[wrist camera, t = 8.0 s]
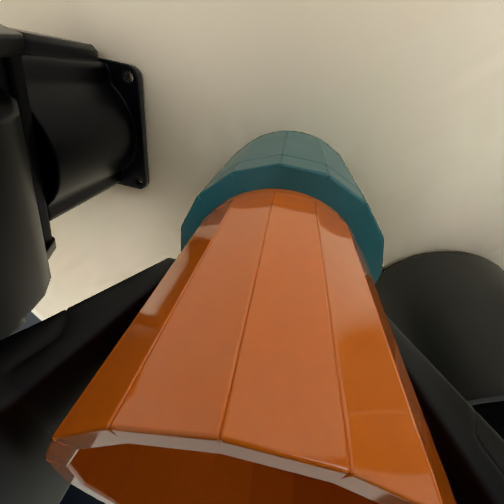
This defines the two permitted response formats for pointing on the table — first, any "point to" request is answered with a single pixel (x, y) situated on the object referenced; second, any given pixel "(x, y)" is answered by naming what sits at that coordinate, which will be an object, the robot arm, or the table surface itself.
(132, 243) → the table surface
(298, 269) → the orange cup
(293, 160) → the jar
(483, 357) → the mug
